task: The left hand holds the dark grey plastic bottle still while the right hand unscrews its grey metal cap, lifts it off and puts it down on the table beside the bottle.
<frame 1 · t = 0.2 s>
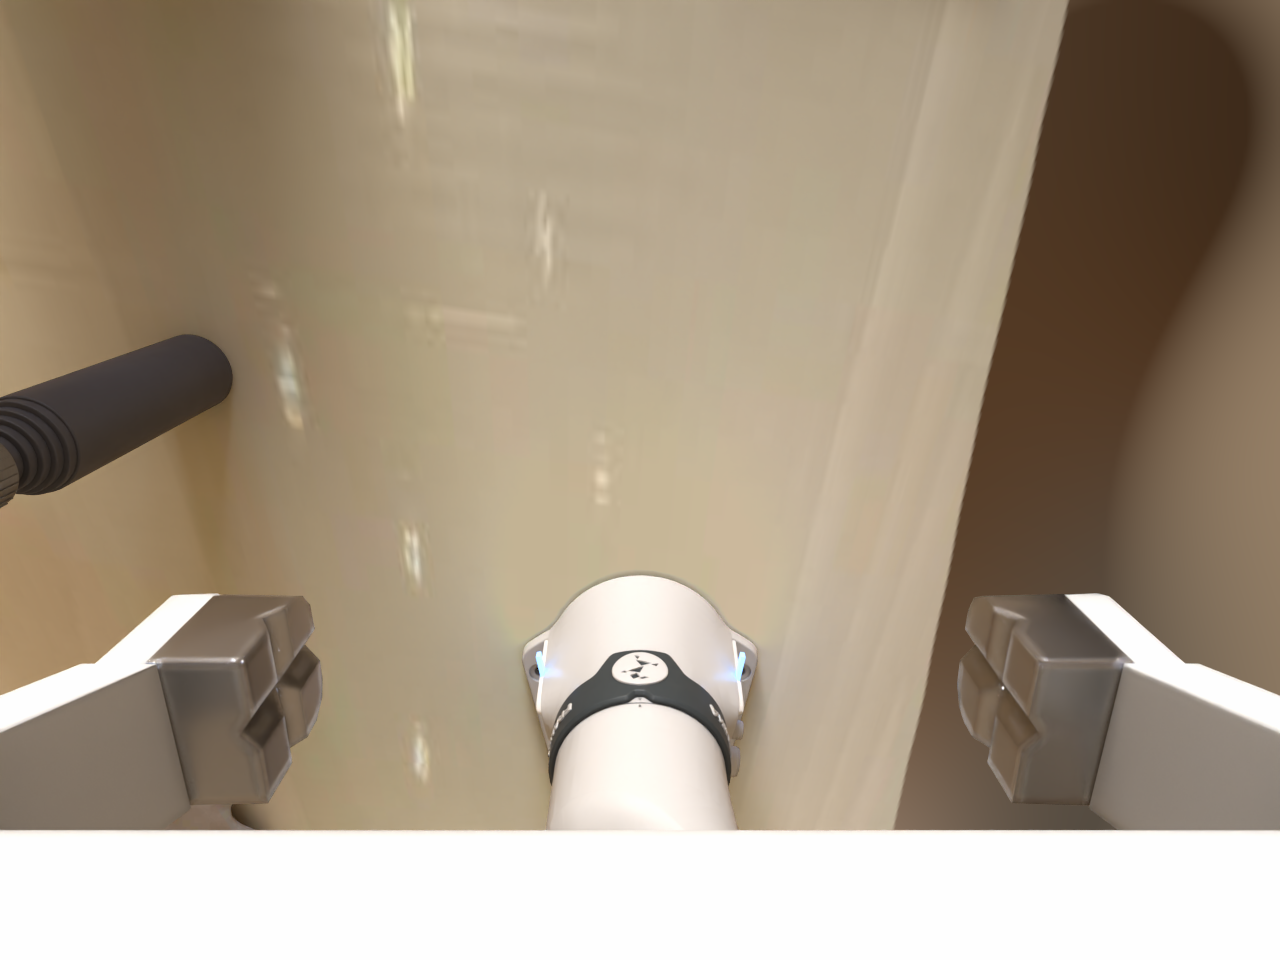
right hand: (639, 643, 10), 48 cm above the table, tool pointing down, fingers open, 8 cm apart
arrowhead: (196, 863, 74), on the table
bottle: (195, 371, 58), on the table
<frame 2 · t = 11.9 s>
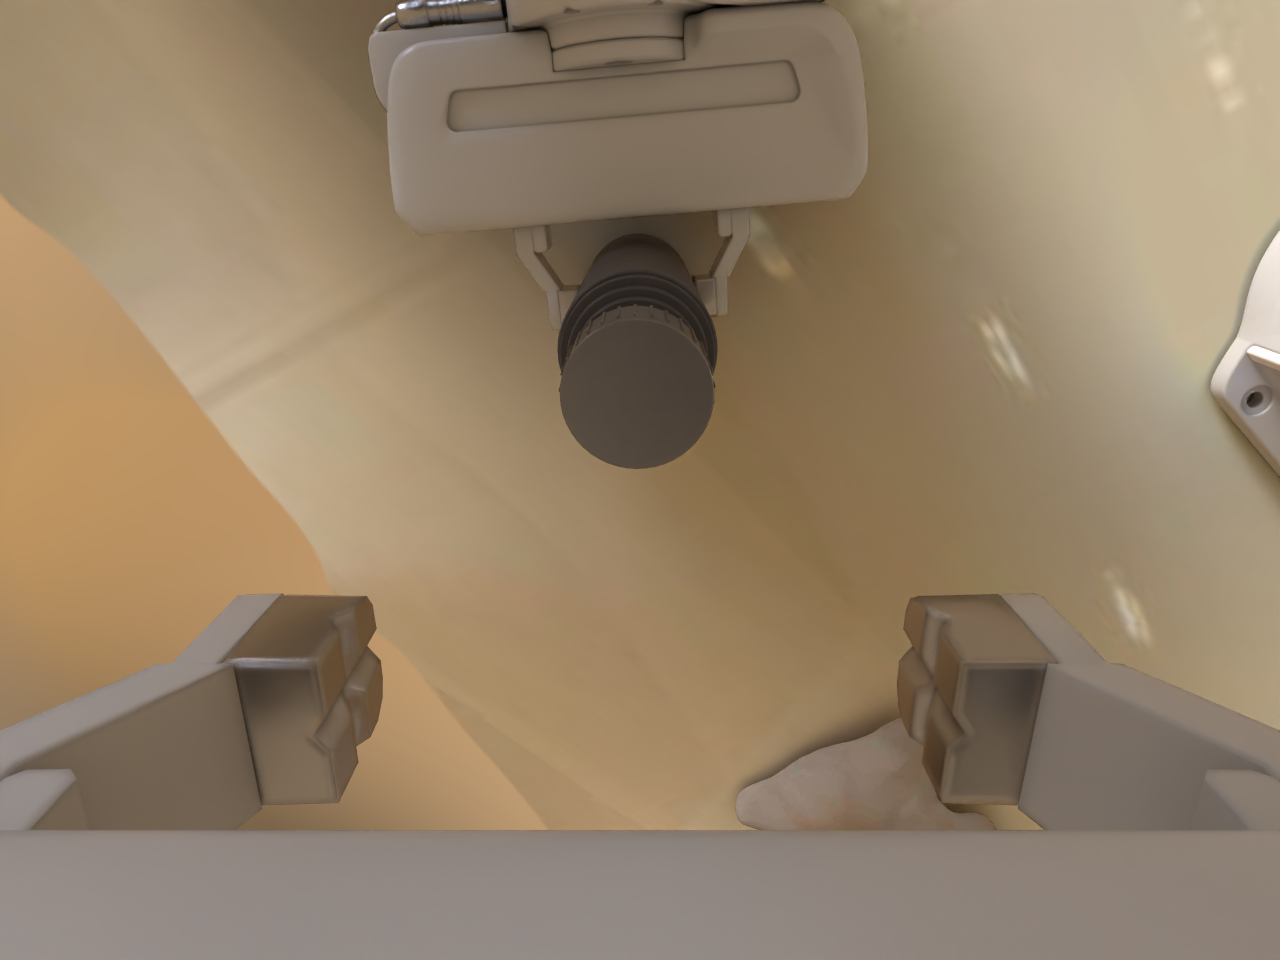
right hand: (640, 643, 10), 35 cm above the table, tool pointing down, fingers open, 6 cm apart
left hand: (640, 321, 38), fingers closed on bottle, 5 cm apart
arrowhead: (916, 889, 57), on the table
bottle: (638, 286, 43), on the table, touching left hand
cap: (637, 393, 22), point 22 cm above the table, screwed on, not yet turned
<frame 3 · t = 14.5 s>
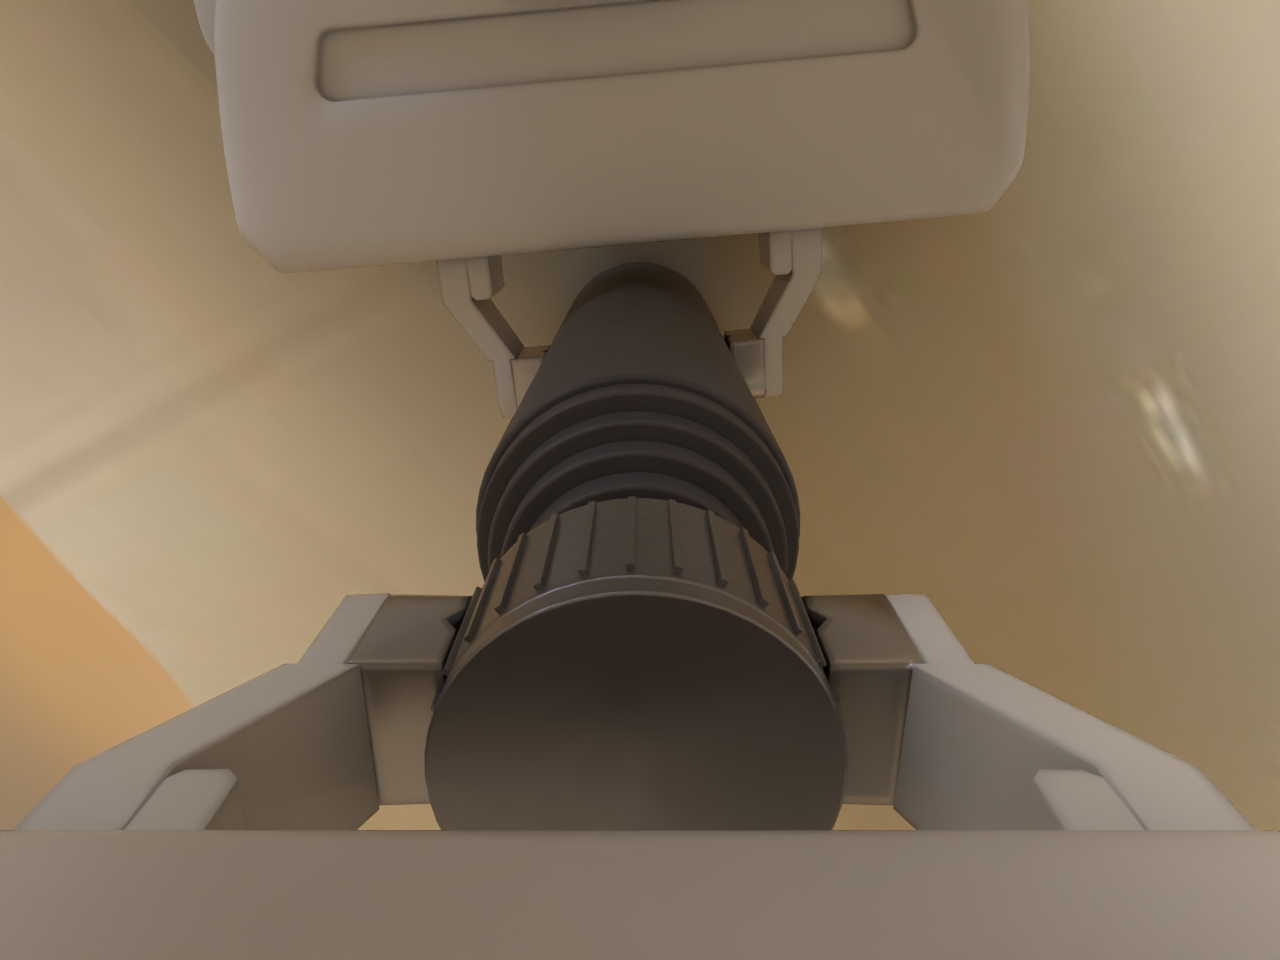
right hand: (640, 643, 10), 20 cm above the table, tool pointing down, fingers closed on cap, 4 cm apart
left hand: (643, 403, 24), fingers closed on bottle, 5 cm apart
bottle: (639, 338, 29), on the table, touching left hand
cap: (636, 759, 8), point 22 cm above the table, screwed on, not yet turned, touching right hand
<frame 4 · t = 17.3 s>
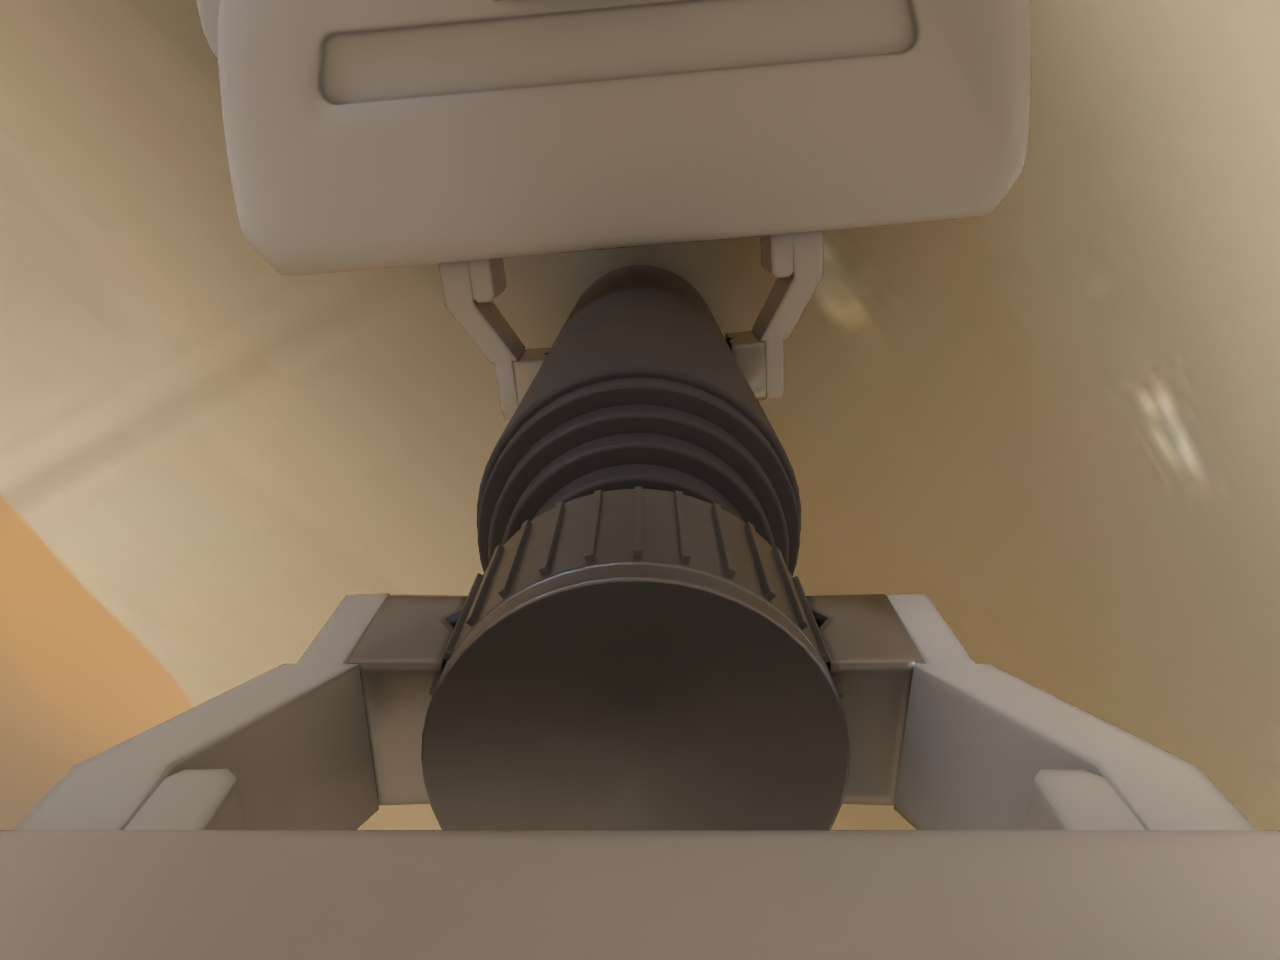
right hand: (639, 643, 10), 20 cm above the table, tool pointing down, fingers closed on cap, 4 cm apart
bottle: (641, 341, 29), on the table, touching left hand
cap: (635, 750, 8), point 22 cm above the table, turned 72° so far, risen 0.1 cm, still on its thread, touching right hand
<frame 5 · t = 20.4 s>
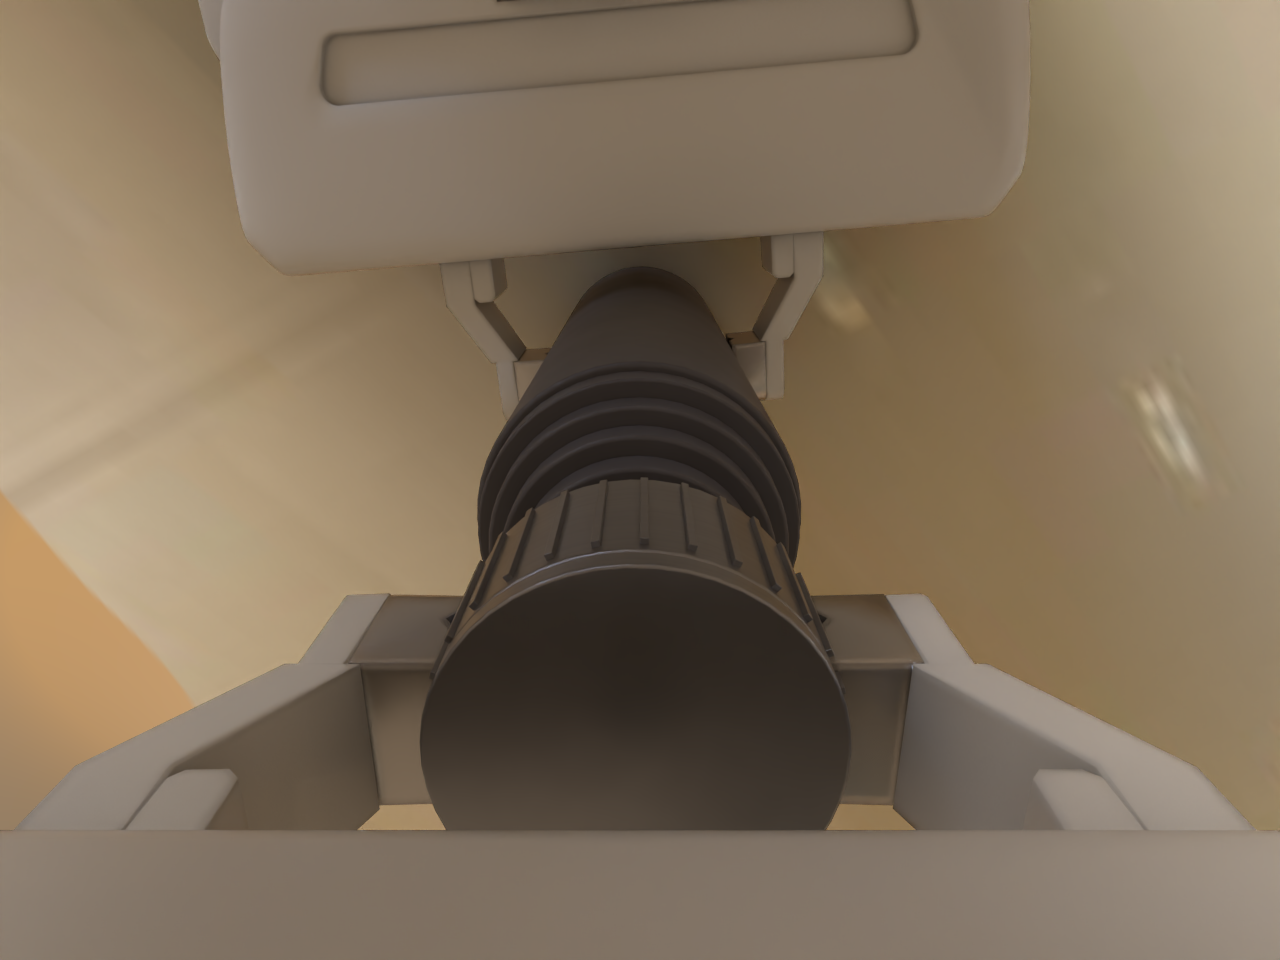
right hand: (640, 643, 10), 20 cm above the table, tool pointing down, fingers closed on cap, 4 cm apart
bottle: (641, 342, 29), on the table, touching left hand
cap: (635, 741, 8), point 23 cm above the table, turned 145° so far, risen 0.1 cm, still on its thread, touching right hand
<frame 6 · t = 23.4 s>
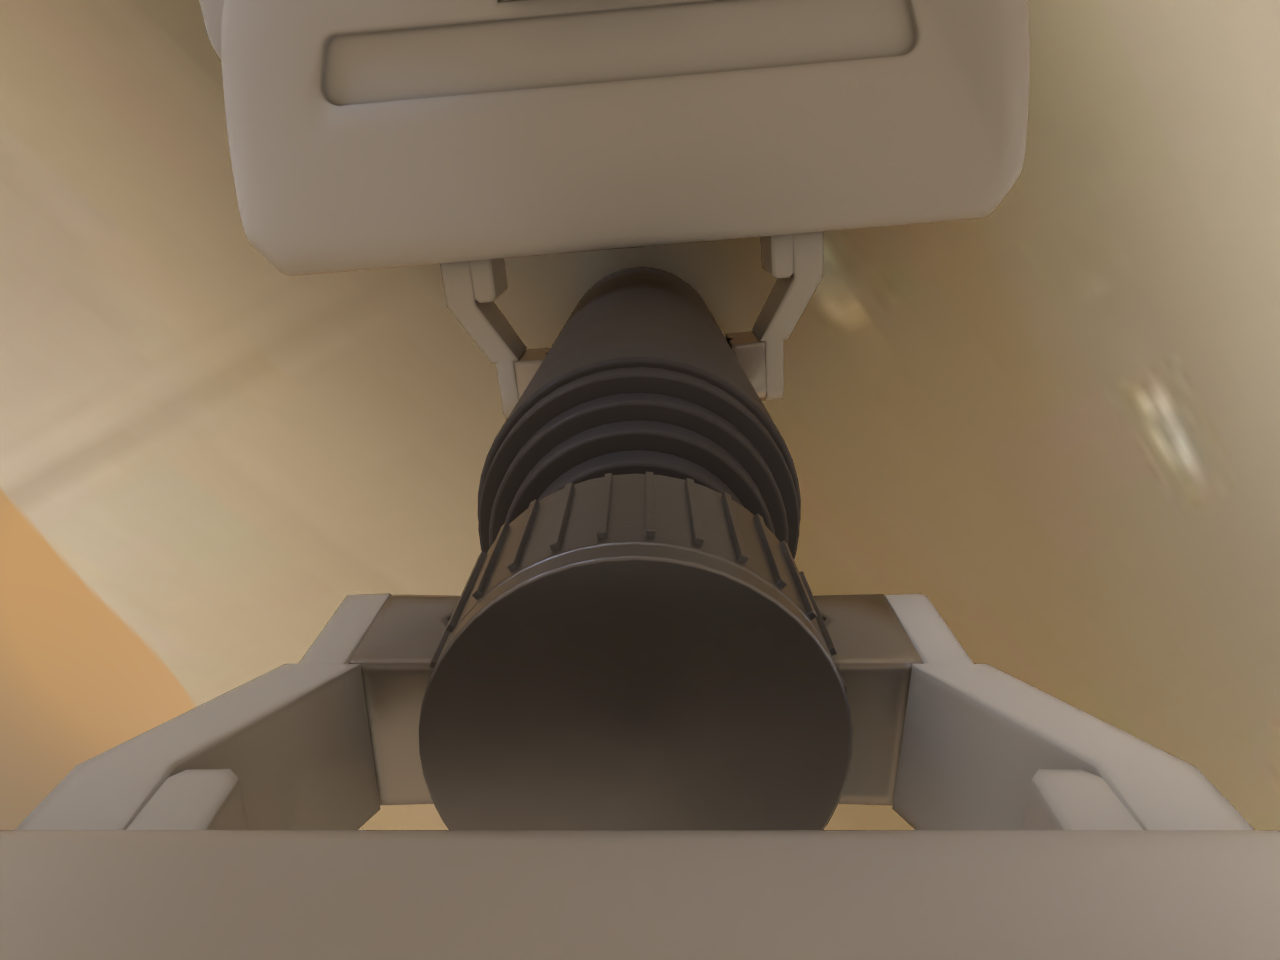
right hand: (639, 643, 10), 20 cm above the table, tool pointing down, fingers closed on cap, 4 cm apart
bottle: (641, 343, 29), on the table, touching left hand
cap: (635, 735, 8), point 23 cm above the table, turned 218° so far, risen 0.2 cm, still on its thread, touching right hand
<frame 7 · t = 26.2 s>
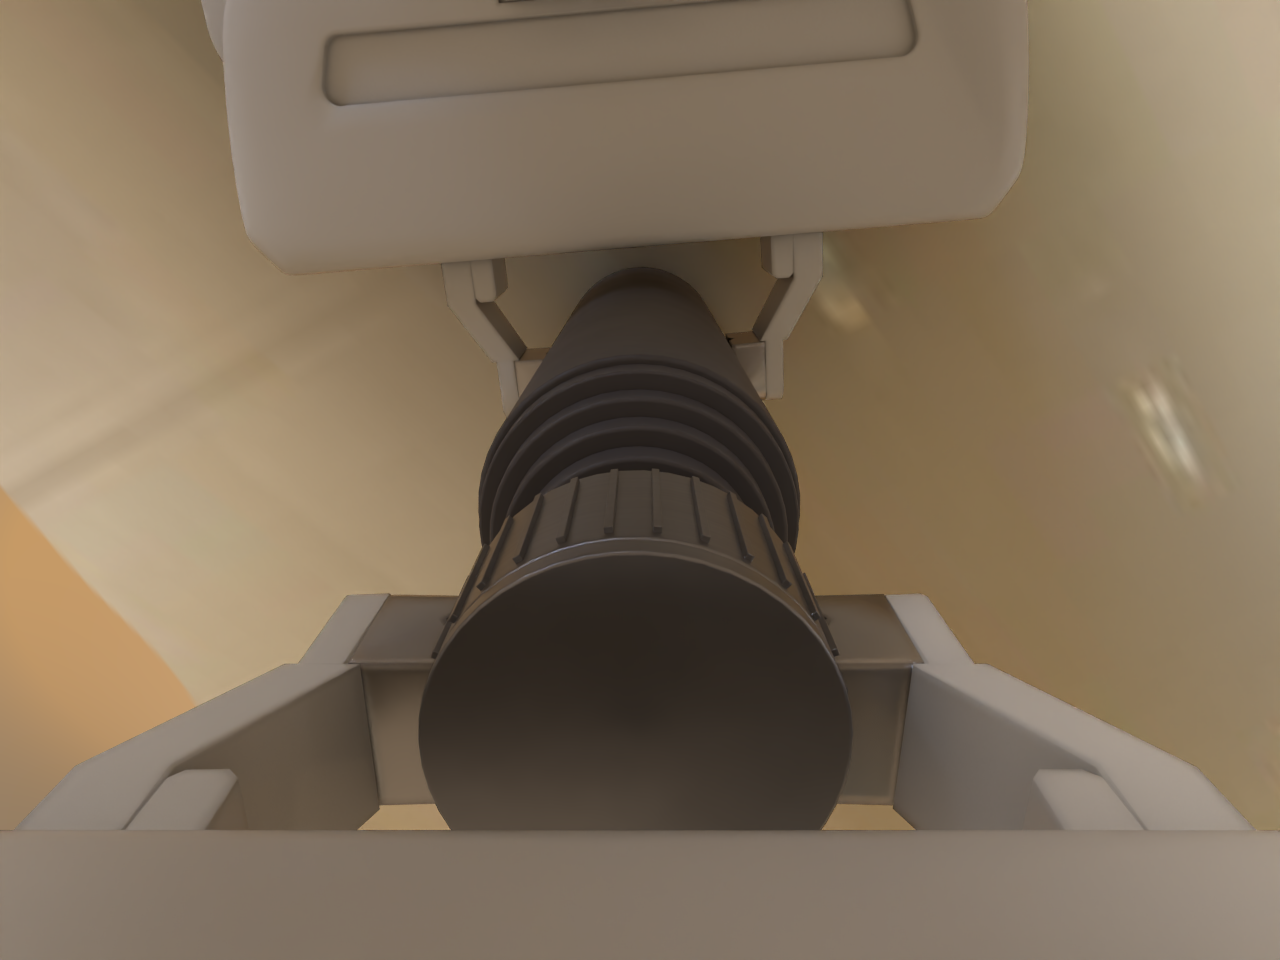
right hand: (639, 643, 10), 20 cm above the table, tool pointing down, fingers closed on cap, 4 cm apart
bottle: (641, 342, 29), on the table, touching left hand
cap: (635, 731, 8), point 23 cm above the table, turned 291° so far, risen 0.2 cm, still on its thread, touching right hand
when the right hand's fingers open (2 cm above the table, at t = 36.4 s): cap drops 2 cm, point 2 cm above the table.
when the left hand's fingers open (6 cm above the table, at t = 37.6 s): bottle stays where it is, on the table.
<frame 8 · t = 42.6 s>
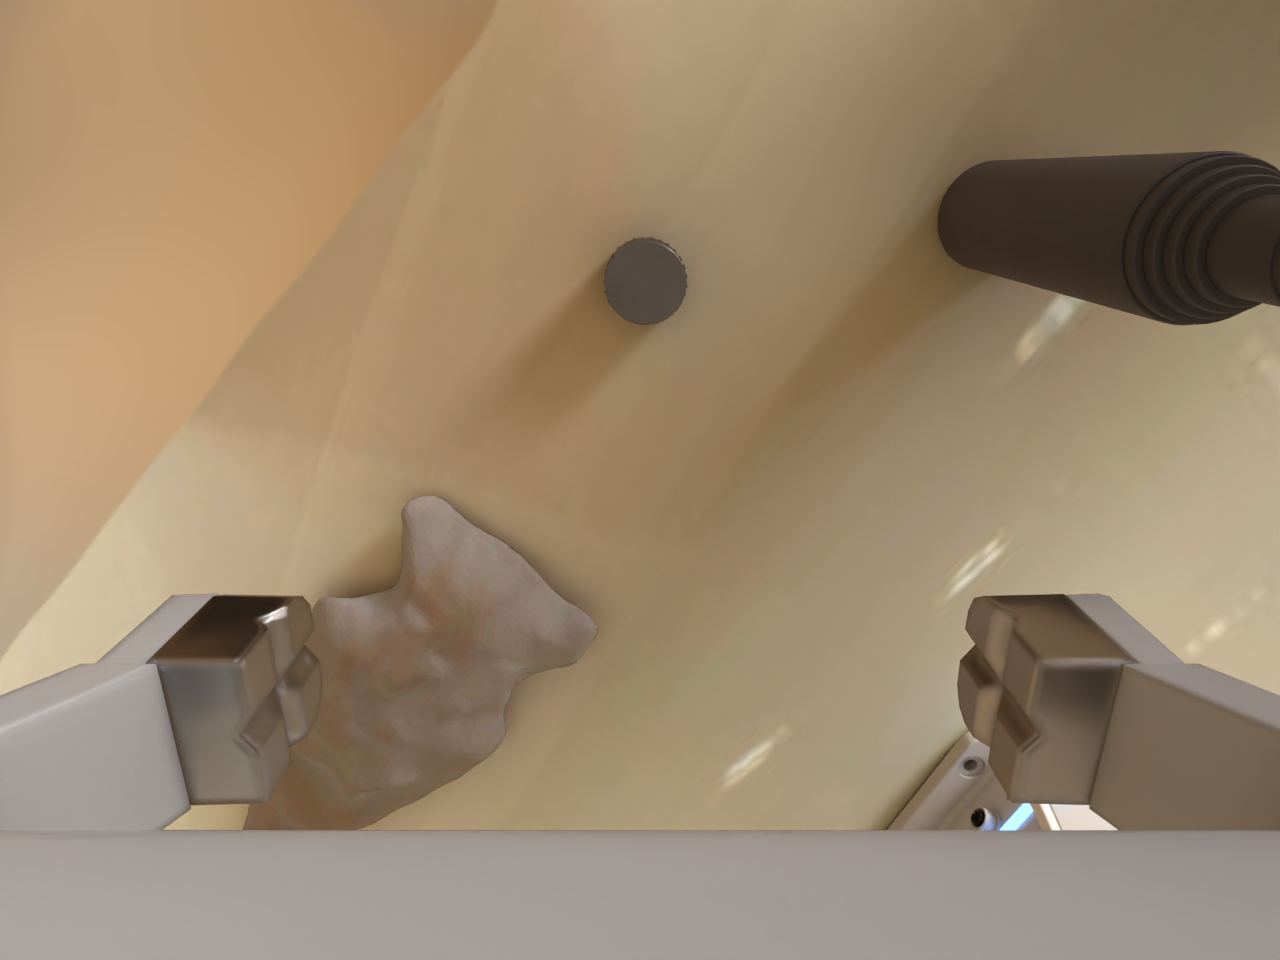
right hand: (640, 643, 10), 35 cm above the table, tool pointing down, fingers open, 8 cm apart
arrowhead: (375, 709, 52), on the table
bottle: (989, 216, 41), on the table
cap: (645, 282, 41), point 2 cm above the table, off its thread
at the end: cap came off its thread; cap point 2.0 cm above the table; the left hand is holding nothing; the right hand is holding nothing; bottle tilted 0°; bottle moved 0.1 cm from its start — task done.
